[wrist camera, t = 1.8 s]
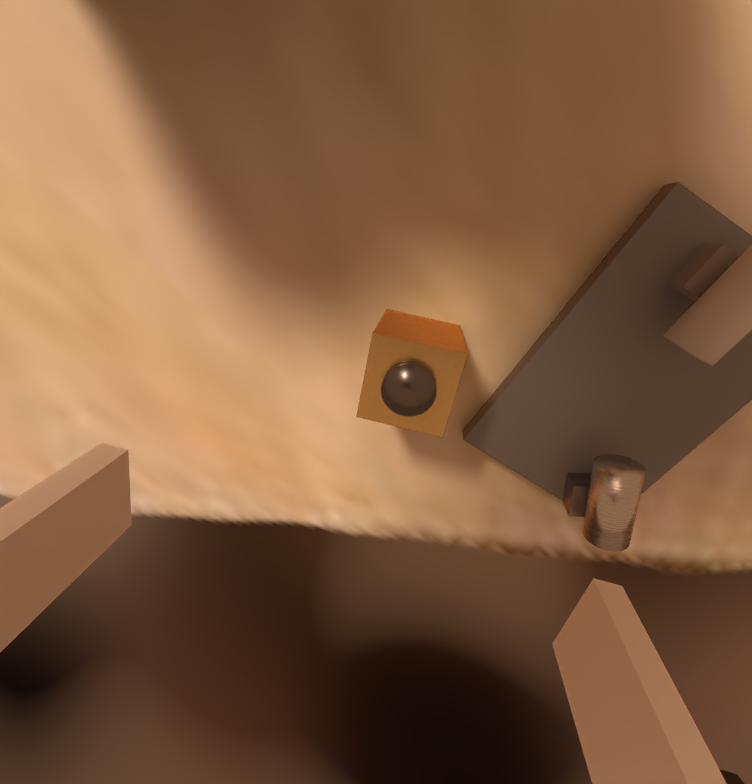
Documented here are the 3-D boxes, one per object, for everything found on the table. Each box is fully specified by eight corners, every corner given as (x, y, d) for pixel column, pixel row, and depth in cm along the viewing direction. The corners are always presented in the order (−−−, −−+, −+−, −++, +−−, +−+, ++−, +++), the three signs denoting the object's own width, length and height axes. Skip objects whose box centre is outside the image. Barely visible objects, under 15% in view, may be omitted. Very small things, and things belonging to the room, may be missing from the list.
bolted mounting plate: (665, 184, 21) (735, 170, 16) (833, 307, 22) (947, 329, 17) (462, 431, 28) (468, 473, 23) (597, 514, 29) (630, 572, 24)
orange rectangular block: (386, 309, 25) (371, 335, 19) (459, 325, 25) (468, 357, 19) (373, 376, 27) (354, 421, 21) (440, 392, 27) (442, 442, 21)
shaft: (570, 441, 26) (594, 477, 22) (630, 442, 25) (664, 479, 21) (562, 506, 28) (582, 549, 24) (617, 508, 27) (646, 552, 23)
